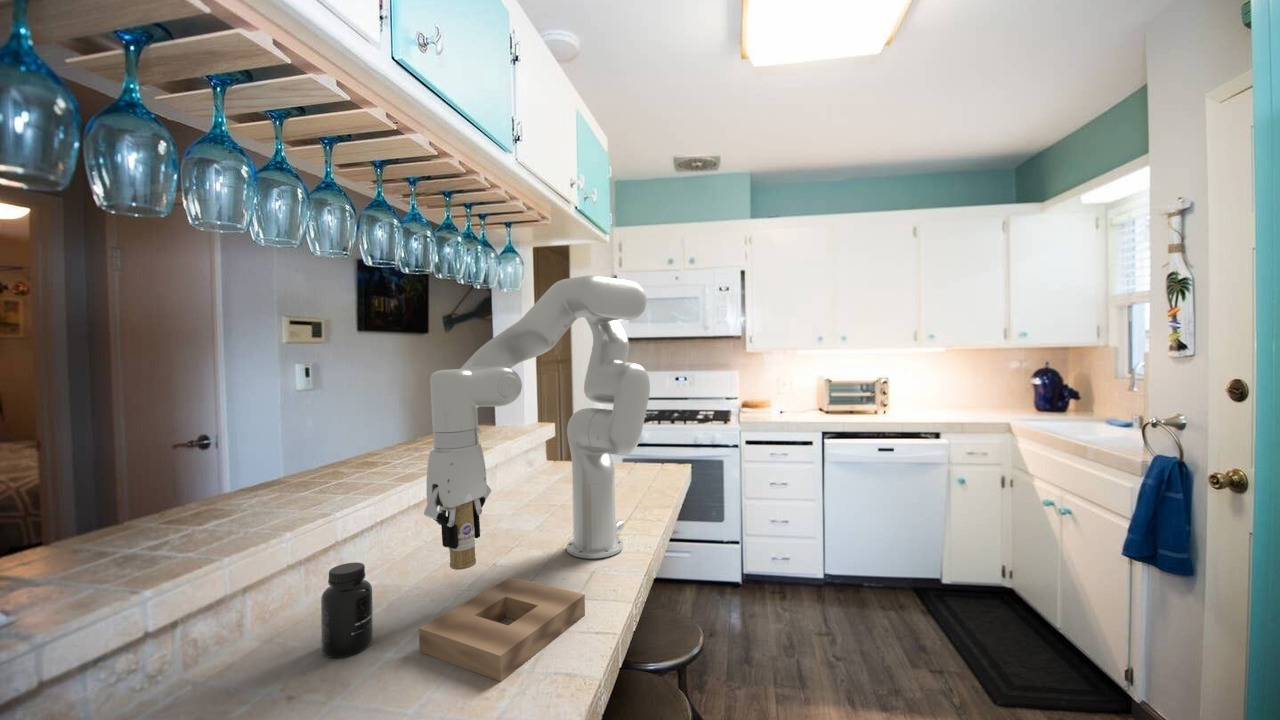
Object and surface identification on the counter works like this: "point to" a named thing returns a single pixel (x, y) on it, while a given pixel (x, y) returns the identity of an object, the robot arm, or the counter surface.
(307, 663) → the counter surface
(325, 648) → the supplement bottle
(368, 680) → the counter surface
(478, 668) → the spice holder
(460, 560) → the sprinkles bottle
